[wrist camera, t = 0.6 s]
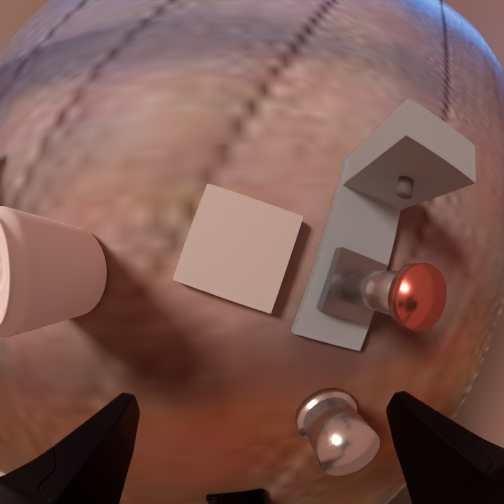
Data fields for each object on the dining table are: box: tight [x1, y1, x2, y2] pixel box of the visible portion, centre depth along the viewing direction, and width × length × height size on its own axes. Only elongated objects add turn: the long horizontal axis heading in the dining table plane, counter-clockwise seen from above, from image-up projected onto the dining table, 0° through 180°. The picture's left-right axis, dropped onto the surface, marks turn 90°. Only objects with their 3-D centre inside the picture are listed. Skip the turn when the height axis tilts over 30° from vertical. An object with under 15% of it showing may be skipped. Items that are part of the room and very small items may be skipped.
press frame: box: [173, 98, 476, 351], centre depth 17 cm, size 16×17×11 cm
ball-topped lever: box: [316, 247, 446, 331], centre depth 16 cm, size 5×4×10 cm
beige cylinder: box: [0, 206, 107, 337], centre depth 15 cm, size 8×8×12 cm
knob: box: [296, 388, 380, 476], centre depth 18 cm, size 6×6×7 cm
